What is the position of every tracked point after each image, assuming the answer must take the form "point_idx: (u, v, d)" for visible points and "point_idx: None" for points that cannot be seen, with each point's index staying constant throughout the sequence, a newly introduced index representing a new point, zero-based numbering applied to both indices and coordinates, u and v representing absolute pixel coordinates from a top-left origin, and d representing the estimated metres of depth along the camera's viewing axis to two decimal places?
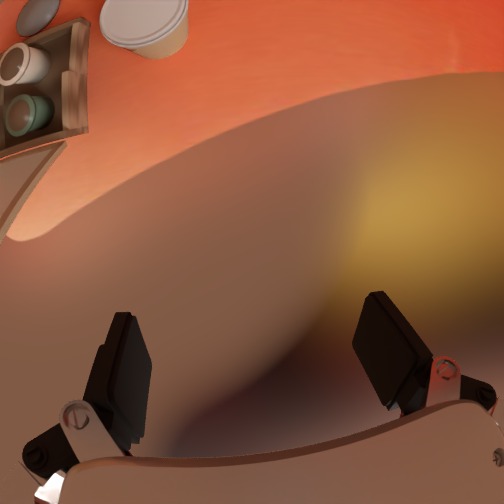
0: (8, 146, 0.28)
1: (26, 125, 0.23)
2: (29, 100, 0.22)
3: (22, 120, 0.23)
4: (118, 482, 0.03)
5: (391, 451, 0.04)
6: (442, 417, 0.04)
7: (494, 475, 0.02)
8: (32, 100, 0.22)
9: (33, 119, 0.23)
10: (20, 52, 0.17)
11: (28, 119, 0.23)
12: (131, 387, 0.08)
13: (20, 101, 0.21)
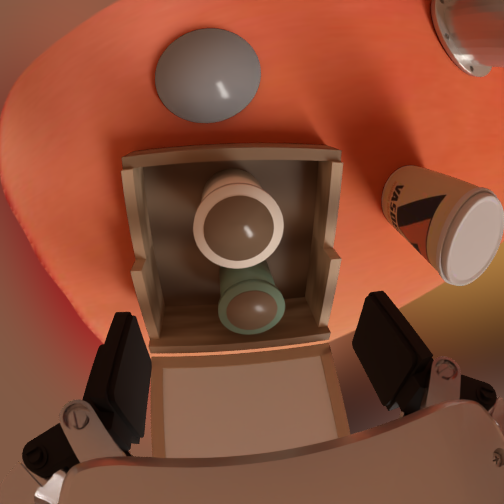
0: (171, 303, 0.30)
1: (266, 324, 0.25)
2: (277, 295, 0.23)
3: (260, 318, 0.24)
4: (118, 482, 0.03)
5: (391, 451, 0.04)
6: (442, 417, 0.04)
7: (494, 475, 0.02)
8: (281, 294, 0.23)
9: None
10: (264, 214, 0.19)
11: (272, 318, 0.24)
12: (131, 387, 0.08)
13: (257, 293, 0.23)
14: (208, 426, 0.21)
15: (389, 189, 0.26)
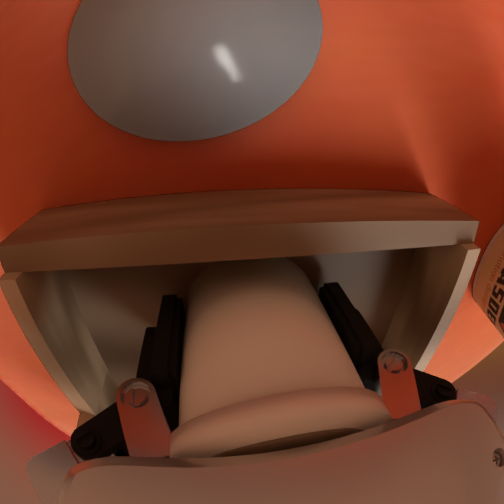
0: None
1: None
2: None
3: None
4: (118, 482, 0.03)
5: (391, 451, 0.04)
6: (442, 417, 0.04)
7: (494, 475, 0.02)
8: None
9: None
10: None
11: None
12: None
13: None
14: None
15: (492, 261, 0.13)
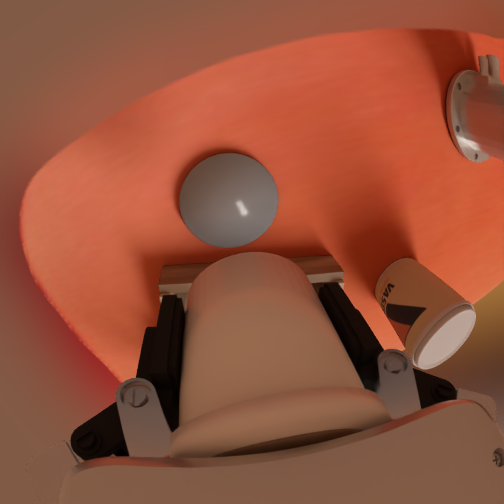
0: None
1: None
2: None
3: None
4: (117, 482, 0.03)
5: (391, 451, 0.04)
6: (442, 417, 0.04)
7: (494, 475, 0.02)
8: None
9: None
10: None
11: None
12: None
13: None
14: None
15: (382, 283, 0.32)
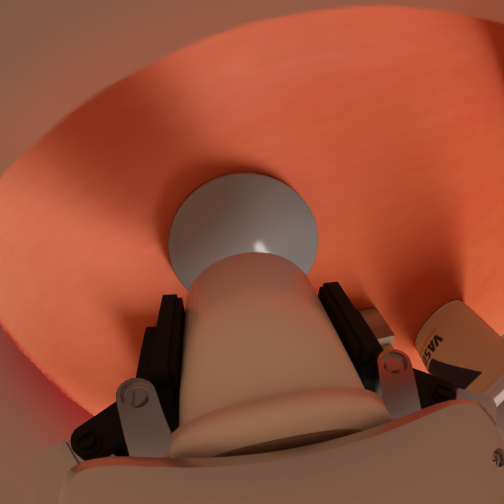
0: None
1: None
2: None
3: None
4: (118, 482, 0.03)
5: (391, 451, 0.04)
6: (442, 417, 0.04)
7: (494, 475, 0.02)
8: None
9: None
10: None
11: None
12: None
13: None
14: None
15: (427, 333, 0.23)
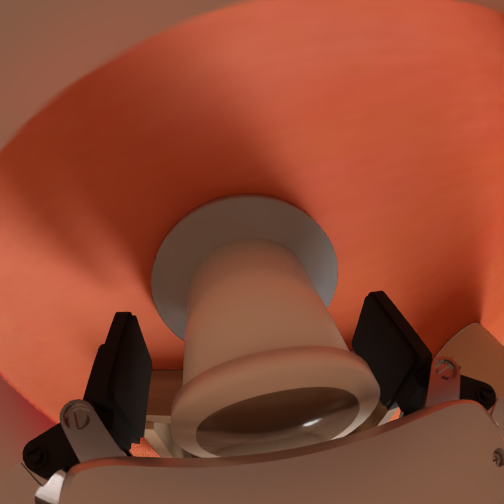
0: None
1: None
2: None
3: None
4: (117, 482, 0.03)
5: (391, 450, 0.04)
6: (442, 417, 0.04)
7: (494, 475, 0.02)
8: None
9: None
10: (344, 406, 0.06)
11: None
12: (131, 387, 0.08)
13: None
14: None
15: None
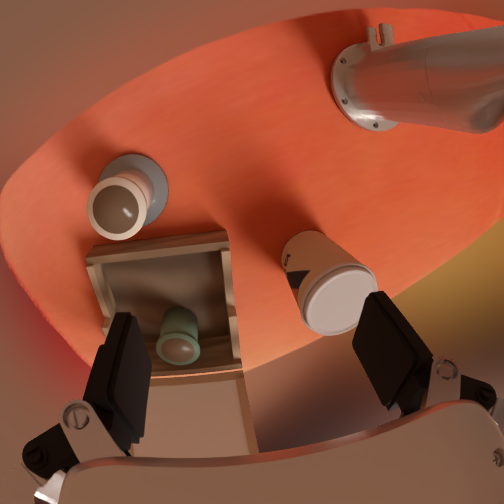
0: None
1: (187, 360, 0.34)
2: (194, 343, 0.33)
3: (183, 356, 0.34)
4: (118, 482, 0.03)
5: (390, 450, 0.04)
6: (442, 417, 0.04)
7: (494, 475, 0.02)
8: (197, 343, 0.34)
9: (196, 357, 0.35)
10: (129, 196, 0.23)
11: (191, 357, 0.34)
12: (131, 387, 0.08)
13: (181, 340, 0.33)
14: (158, 425, 0.30)
15: (284, 255, 0.37)
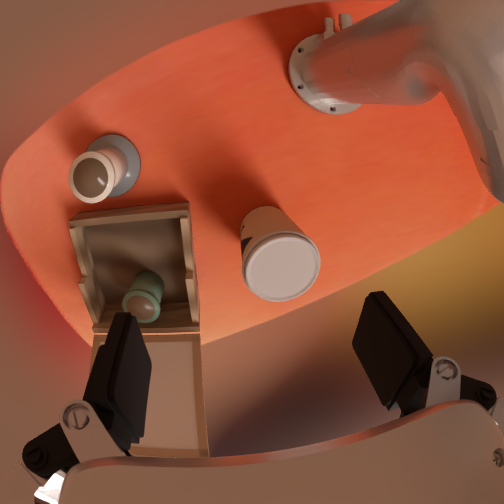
0: (109, 302, 0.44)
1: (148, 318, 0.38)
2: (155, 302, 0.37)
3: (145, 314, 0.38)
4: (118, 482, 0.03)
5: (391, 451, 0.04)
6: (442, 417, 0.04)
7: (494, 475, 0.02)
8: (158, 303, 0.37)
9: None
10: (101, 167, 0.27)
11: (152, 316, 0.38)
12: (131, 387, 0.08)
13: (144, 298, 0.37)
14: None
15: (241, 227, 0.40)
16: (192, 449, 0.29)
